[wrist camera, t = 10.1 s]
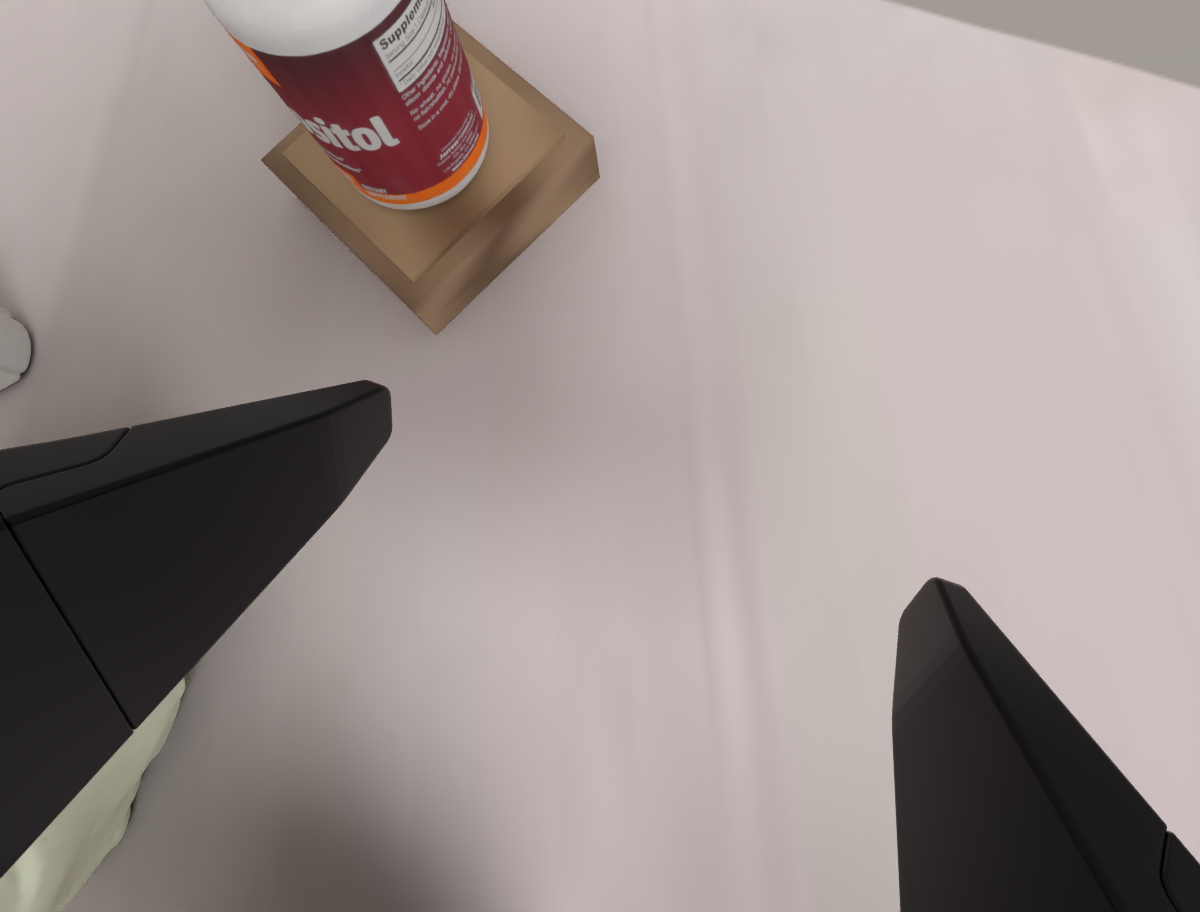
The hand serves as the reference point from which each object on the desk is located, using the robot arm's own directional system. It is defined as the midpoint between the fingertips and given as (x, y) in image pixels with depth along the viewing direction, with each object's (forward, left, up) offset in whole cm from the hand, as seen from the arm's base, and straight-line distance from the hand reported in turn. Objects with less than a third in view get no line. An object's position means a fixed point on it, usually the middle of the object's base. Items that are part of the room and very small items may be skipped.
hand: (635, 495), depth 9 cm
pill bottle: (+5, +17, -11) cm, 21 cm away
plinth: (+5, +17, -14) cm, 23 cm away
